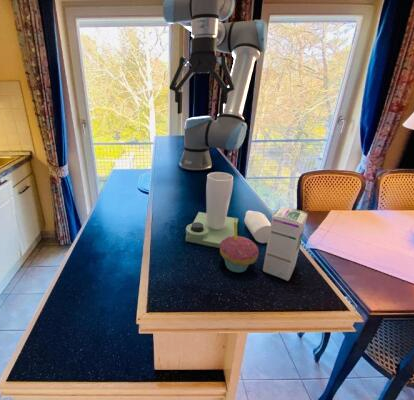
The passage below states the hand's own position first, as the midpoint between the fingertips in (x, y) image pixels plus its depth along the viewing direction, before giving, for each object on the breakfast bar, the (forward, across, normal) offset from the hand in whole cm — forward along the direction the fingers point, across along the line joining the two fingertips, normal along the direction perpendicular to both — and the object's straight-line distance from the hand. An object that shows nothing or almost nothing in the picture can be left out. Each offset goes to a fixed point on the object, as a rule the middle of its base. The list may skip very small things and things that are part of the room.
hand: (199, 114), depth 86 cm
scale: (+29, +11, -23) cm, 38 cm away
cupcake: (+29, +19, -36) cm, 50 cm away
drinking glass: (+28, +11, -22) cm, 37 cm away
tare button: (+26, +8, -28) cm, 39 cm away
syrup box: (+29, +28, -34) cm, 53 cm away
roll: (+29, +22, -19) cm, 41 cm away
